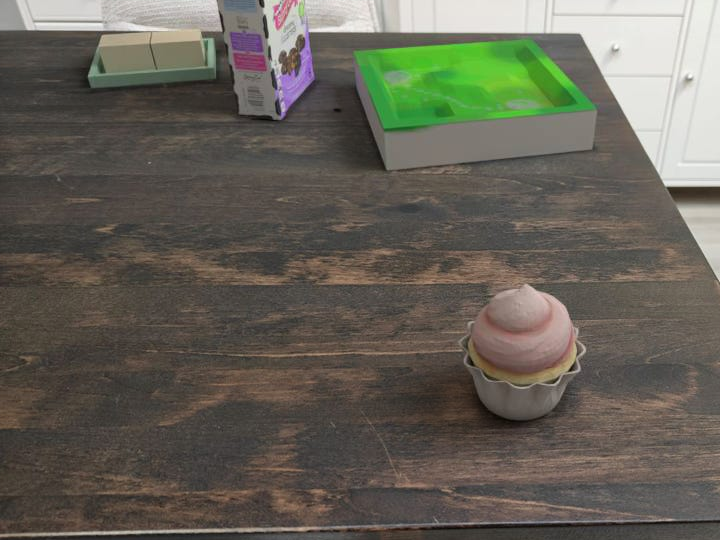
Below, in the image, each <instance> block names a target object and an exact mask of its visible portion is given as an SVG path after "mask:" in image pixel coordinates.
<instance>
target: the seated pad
mask: <svg viewBox="0 0 720 540" xmlns="http://www.w3.org/2000/svg"><path fill="white" fill-rule="evenodd" d="M151 33H152V37H151V43H150V44H151V48H152V52H153V56H154V60H155V63H156V67H157V70H160V69H174V68H188V67H202V66H206V53H205V48H204V43H203V39H204V38H203V35H202V30H201V28H194V29H192V28H191V29H176V30H159V31H151Z"/></svg>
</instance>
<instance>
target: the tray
mask: <svg viewBox="0 0 720 540" xmlns="http://www.w3.org/2000/svg"><path fill="white" fill-rule="evenodd" d="M352 52H353V65H354V73H355V74H354V76H355V86H356V91H357V93H358V96H359V98H360V99H359V100H360V102H361V104H362V105H361V106H362V107H363V110H364V113H365V115H366V119H367V121H368V124H369V126H370V129H371V132H372V134H373V137H374V140H375V143H376V145H377V148H378V150H379V154H380V156H381V159H382V161H383V164H384V167H385V169H386V171H396V170H406V169H416V168H426V167H436V166H437V167H438V166H444V165H446V166H447V165H456V164H463V163H464V164H465V163H473V162H483V161H485V162H486V161H493V160H495V161H496V160H503V159H511V158H523V157H532V156H534V157H535V156H541V155H552V154H561V153H570V152H579V151H590V150H591V151H592V150H593V148H594V139H595V133H596V131H595V130H596V124H597V115H598V108H597V107H596V106H595V104H594V103H592V101H590V100H589V98H588V97H587V96H586V95H585V94H584V93H583V92H582V91H581V90H580V89H579V88H578V86H576V84H575V83H574V82H573V81H571V79H570V78H569V77H568V76H567V74H565V73H564V72H563V71H562V70H561V69H560V68H559V66H557V65H556V63H555V62H554V61H553V60H552V59H551V58H550V57H549V56H548V55H547V54H546V53H545V52H544V51H543V50H542V48H541V47H539V46H538V44H537V43H536V42H535V41H534V40H533V39H532V38H527V39H526V38H525V39H524V38H523V39H511V40H497V41H482V42H480V41H479V42H468V43H454V44H453V43H452V44H438V45H424V46H423V45H422V46H409V47H408V46H407V47H395V48H394V47H393V48H382V49H381V48H379V49H364V50H353V51H352Z"/></svg>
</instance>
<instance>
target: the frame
mask: <svg viewBox="0 0 720 540" xmlns="http://www.w3.org/2000/svg"><path fill="white" fill-rule="evenodd" d="M202 39H203V43H204V48H205V53H206V66H202V67H188V68H174V69H160V70H147V71H133V72H119V73H106V71H105V68H104V65H103V62H102V58H101V55H100V52H99V49H98V46H96V47H97V48H96V50H95V53H94V57H93V59H92V62H91V65H90V68H89V71H88V75H87V80H88V82H89V86H90V89H100V88H112V87H127V86H139V85H141V86H142V85H151V84H152V85H153V84H167V83H179V82H181V83H182V82H191V81H194V82H195V81H204V80H205V81H206V80H207V81H208V80H217V50H216V49H217V48H216V45H215V44H216V42H215V38H214V37H206V38H204V37H203V38H202Z"/></svg>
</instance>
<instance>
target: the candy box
mask: <svg viewBox="0 0 720 540" xmlns="http://www.w3.org/2000/svg"><path fill="white" fill-rule="evenodd" d="M216 5H217V10H218V15H219V21H220V26H221V32H222V36H223V41H224V46H225V53H226V57H227V63H228V67H229V72H230V78H231V83H232V88H233V93H234V98H235V103H236V109H237V113H238V115H245V116H243V117H245V118H253V119H254V118H255V119H264V120H272V121H273V120H275V121H281V120H283V119H284V118H285V117H286V115H287V114H288V112H287V111H288V110H289V109H290V108H291V107H292V105H293V104H294V103H295V102H296V101H297V100H298V98H299V97H300V96H301V95H302V94H303V93H304V92H305V90H306V89H307V88H308V87H309V86H310V85H311V84H312V82H313V81H315V79H316V78H315V70H314V69H315V68H314V62H313V55H312V48H311V39H310V32H309V31H310V30H309V23H308V17H307V8H306V1H305V0H216Z"/></svg>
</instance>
